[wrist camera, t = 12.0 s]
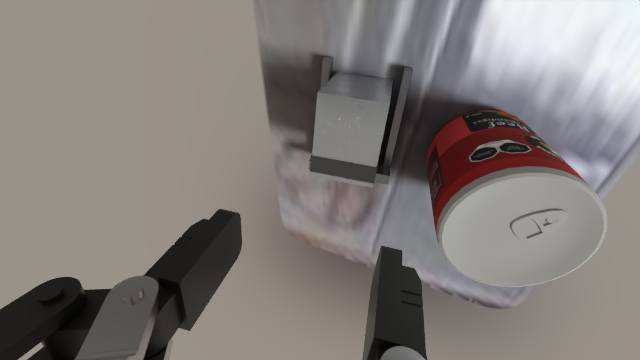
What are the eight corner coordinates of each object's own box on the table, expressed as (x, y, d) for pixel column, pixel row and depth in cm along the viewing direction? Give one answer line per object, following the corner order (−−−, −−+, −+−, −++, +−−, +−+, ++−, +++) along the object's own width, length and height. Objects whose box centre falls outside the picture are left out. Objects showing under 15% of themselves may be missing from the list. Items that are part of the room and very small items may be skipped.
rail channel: (325, 56, 25) (317, 62, 22) (412, 67, 24) (413, 75, 21) (316, 154, 29) (308, 169, 27) (388, 168, 28) (387, 184, 26)
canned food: (554, 143, 24) (650, 231, 15) (473, 208, 28) (508, 308, 19) (477, 85, 23) (527, 139, 14) (406, 160, 27) (408, 241, 18)
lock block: (336, 71, 25) (316, 92, 19) (393, 79, 24) (390, 104, 18) (329, 139, 28) (309, 176, 22) (379, 148, 27) (373, 188, 21)
